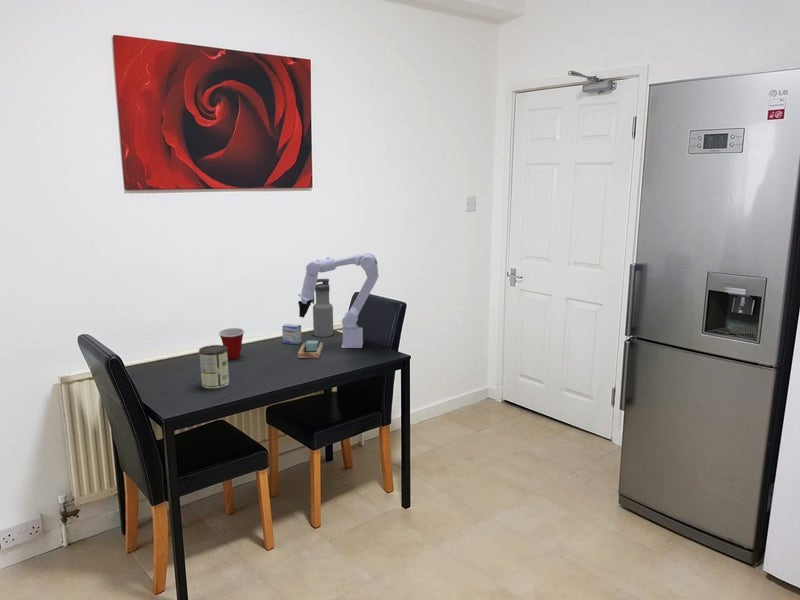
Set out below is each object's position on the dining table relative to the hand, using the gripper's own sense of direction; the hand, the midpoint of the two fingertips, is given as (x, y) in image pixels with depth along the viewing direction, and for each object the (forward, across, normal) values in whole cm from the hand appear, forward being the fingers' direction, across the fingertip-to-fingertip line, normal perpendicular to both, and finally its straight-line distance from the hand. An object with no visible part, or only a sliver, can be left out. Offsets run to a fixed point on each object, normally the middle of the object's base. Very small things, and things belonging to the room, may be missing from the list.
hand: (302, 315), depth 289 cm
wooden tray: (+13, +12, +8) cm, 19 cm away
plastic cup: (+21, +20, -24) cm, 37 cm away
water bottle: (+13, -19, +10) cm, 25 cm away
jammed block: (+13, +8, +8) cm, 17 cm away
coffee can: (+20, +55, -22) cm, 62 cm away
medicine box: (+16, -4, -2) cm, 17 cm away
